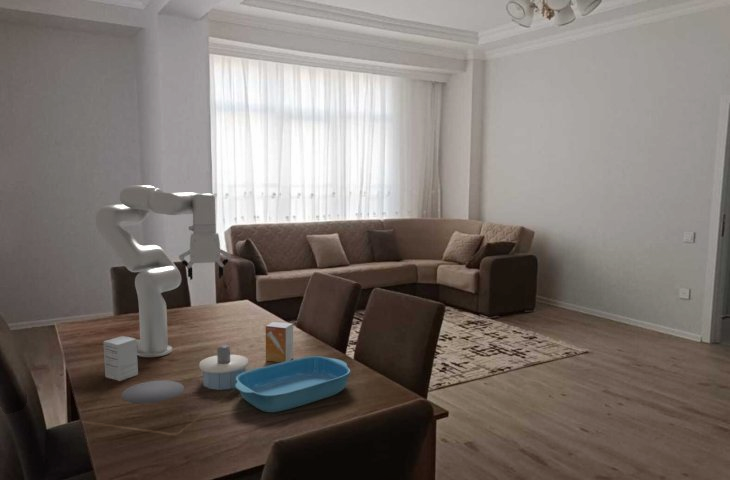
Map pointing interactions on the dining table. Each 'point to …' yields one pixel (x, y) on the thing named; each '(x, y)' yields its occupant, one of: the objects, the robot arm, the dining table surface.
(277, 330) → the small box
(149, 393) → the mat
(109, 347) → the supplement box
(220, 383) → the bowl
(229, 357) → the lid
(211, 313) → the dining table surface
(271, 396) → the casserole dish
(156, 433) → the dining table surface
